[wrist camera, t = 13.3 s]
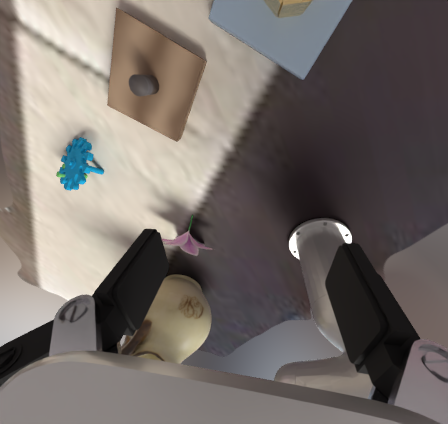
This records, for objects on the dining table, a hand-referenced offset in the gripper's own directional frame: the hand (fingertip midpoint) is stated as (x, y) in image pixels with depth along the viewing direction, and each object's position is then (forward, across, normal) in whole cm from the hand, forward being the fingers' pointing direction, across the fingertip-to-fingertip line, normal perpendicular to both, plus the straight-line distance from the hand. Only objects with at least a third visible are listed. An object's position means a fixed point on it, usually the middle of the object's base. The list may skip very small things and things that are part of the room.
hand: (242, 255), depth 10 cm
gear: (+27, +33, +4) cm, 43 cm away
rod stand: (+26, +15, -8) cm, 32 cm away
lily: (+27, +14, +21) cm, 37 cm away
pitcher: (+28, +21, +44) cm, 56 cm away
